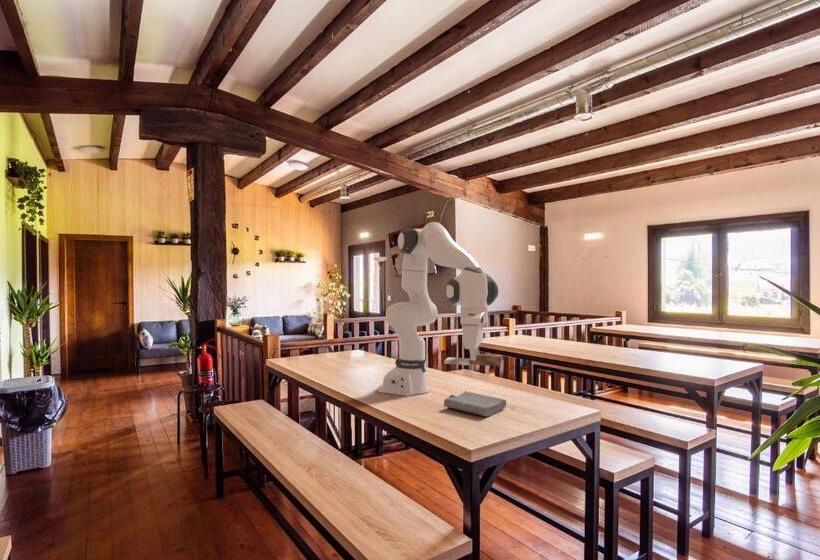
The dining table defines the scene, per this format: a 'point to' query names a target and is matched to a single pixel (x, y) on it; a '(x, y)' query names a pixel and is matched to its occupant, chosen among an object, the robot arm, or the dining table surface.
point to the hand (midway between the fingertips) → (474, 358)
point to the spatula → (477, 360)
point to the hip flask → (475, 403)
